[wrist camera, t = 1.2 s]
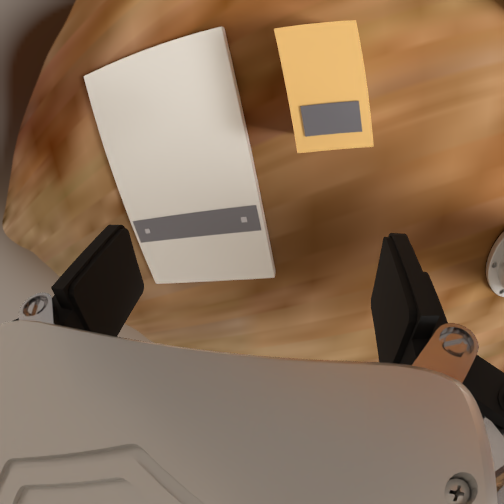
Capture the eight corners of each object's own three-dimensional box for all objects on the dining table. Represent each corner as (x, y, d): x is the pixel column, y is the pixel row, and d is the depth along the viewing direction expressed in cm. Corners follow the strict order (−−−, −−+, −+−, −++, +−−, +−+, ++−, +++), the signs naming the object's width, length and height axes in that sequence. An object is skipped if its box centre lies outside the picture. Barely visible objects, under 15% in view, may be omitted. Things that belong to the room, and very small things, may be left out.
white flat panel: (224, 27, 25) (220, 26, 24) (275, 271, 39) (274, 278, 38) (89, 75, 29) (82, 76, 28) (159, 278, 43) (155, 284, 42)
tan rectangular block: (345, 29, 23) (356, 20, 17) (360, 128, 28) (373, 147, 23) (281, 36, 25) (273, 28, 19) (299, 134, 30) (297, 153, 24)
